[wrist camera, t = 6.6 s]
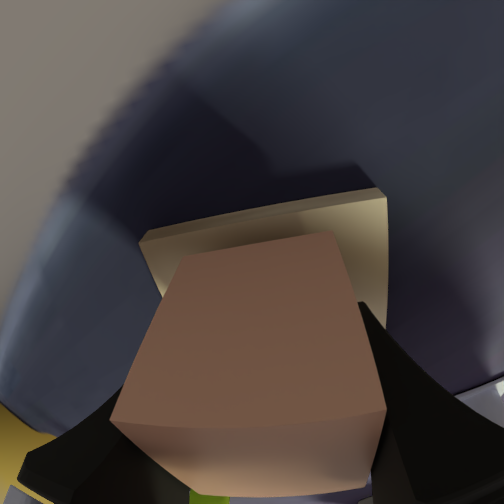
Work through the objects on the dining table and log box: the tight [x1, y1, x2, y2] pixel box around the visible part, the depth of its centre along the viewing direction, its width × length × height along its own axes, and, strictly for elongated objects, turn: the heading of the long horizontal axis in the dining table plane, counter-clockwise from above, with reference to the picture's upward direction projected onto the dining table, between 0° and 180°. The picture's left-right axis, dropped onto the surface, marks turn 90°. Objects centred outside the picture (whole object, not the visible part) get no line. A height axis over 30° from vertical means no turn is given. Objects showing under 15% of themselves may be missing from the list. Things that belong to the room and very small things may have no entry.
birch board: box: [139, 187, 388, 329], centre depth 16 cm, size 18×10×1 cm, turn 13°
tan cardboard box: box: [110, 230, 387, 497], centre depth 9 cm, size 5×5×7 cm
